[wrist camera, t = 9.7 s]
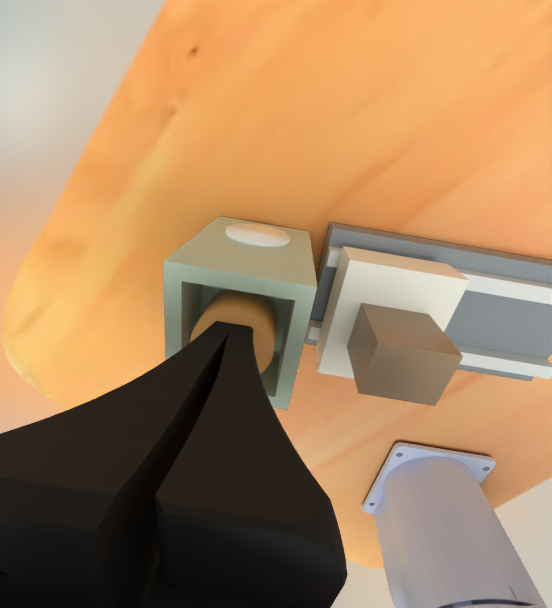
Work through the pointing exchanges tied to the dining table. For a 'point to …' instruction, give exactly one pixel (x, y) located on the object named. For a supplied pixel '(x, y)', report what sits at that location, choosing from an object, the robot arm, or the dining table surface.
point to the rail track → (466, 299)
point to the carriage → (391, 325)
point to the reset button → (244, 320)
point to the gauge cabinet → (245, 288)
